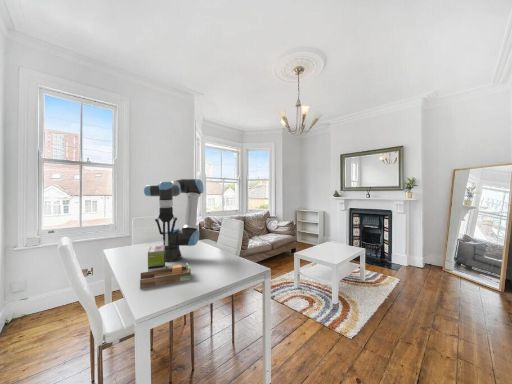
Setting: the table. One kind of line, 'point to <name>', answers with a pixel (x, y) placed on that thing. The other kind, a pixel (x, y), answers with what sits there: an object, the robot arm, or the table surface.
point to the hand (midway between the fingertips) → (166, 245)
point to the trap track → (164, 277)
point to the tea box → (156, 258)
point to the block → (176, 269)
